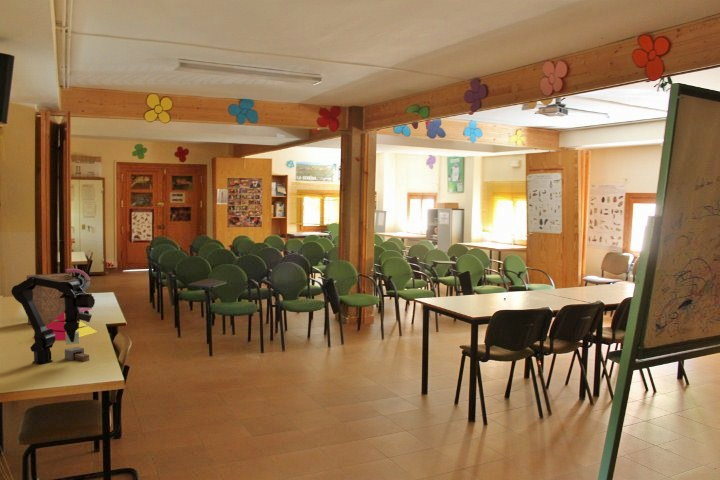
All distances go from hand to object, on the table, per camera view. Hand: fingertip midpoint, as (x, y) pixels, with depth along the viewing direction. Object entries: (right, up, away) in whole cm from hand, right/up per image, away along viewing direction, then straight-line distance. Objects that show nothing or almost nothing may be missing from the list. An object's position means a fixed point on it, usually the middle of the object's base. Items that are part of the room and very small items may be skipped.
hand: (72, 340), depth 278 cm
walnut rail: (0, -11, +8) cm, 13 cm away
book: (-61, -5, +97) cm, 114 cm away
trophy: (-63, -2, +134) cm, 148 cm away
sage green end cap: (0, -1, 0) cm, 1 cm away
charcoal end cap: (-4, -10, +11) cm, 16 cm away
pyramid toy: (-34, -8, +60) cm, 70 cm away
